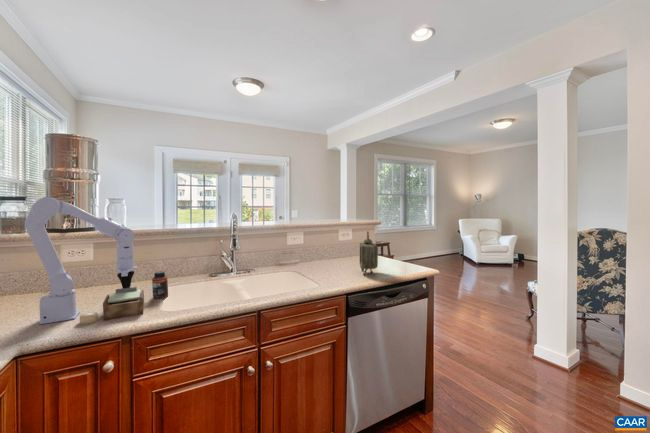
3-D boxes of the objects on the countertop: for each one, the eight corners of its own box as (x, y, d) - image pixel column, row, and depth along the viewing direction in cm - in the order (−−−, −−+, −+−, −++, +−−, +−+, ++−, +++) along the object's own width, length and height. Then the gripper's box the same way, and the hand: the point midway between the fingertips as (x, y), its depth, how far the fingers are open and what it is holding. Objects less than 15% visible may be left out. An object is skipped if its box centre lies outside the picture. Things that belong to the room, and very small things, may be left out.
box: (103, 320, 103) (102, 303, 103) (107, 310, 113) (107, 294, 112) (143, 313, 109) (142, 297, 109) (144, 304, 119) (143, 289, 118)
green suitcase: (359, 270, 177) (359, 229, 176) (374, 270, 177) (374, 230, 176) (361, 276, 163) (361, 232, 162) (377, 276, 163) (378, 232, 161)
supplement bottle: (164, 294, 133) (164, 269, 132) (170, 296, 129) (169, 271, 128) (150, 297, 128) (149, 272, 127) (155, 300, 124) (155, 274, 124)
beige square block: (78, 325, 99) (78, 318, 99) (81, 320, 103) (81, 313, 103) (96, 322, 101) (96, 315, 101) (99, 317, 106) (98, 310, 106)
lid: (107, 303, 106) (107, 297, 106) (111, 294, 116) (111, 289, 116) (139, 298, 111) (139, 293, 111) (140, 290, 121) (140, 285, 121)
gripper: (136, 259, 114) (137, 293, 115) (137, 253, 126) (138, 284, 127) (114, 261, 110) (115, 296, 111) (118, 254, 123) (119, 286, 124)
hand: (126, 289), depth 119 cm, fingers closed
